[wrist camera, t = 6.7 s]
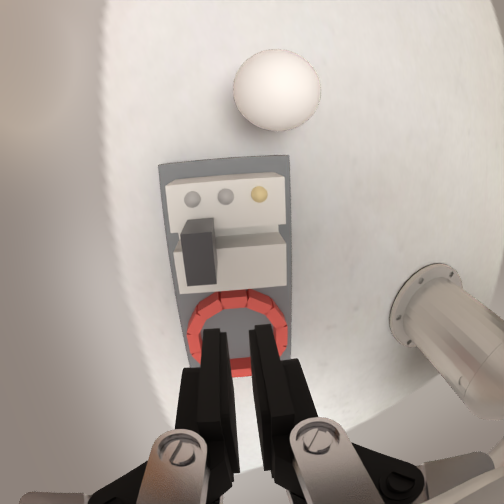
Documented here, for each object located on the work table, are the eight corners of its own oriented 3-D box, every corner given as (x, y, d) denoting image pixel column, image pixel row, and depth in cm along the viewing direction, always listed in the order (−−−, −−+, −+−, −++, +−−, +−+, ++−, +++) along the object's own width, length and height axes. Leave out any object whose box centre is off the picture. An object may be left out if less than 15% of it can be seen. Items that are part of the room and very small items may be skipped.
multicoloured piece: (287, 357, 36) (299, 395, 29) (192, 365, 35) (188, 405, 29) (286, 155, 28) (304, 157, 21) (161, 164, 27) (143, 169, 21)
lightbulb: (279, 68, 25) (310, 27, 14) (303, 123, 27) (348, 110, 17) (220, 89, 25) (218, 55, 15) (245, 145, 27) (258, 143, 17)
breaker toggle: (218, 248, 27) (216, 284, 20) (196, 250, 27) (187, 286, 20) (214, 208, 26) (211, 231, 19) (191, 210, 25) (179, 234, 18)
